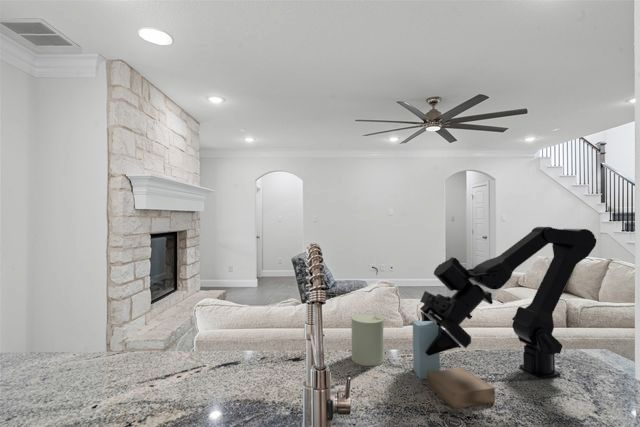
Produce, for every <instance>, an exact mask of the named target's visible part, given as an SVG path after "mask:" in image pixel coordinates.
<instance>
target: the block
mask: <svg viewBox="0 0 640 427" xmlns="http://www.w3.org/2000/svg"><path fill="white" fill-rule="evenodd" d="M437 335H438V326H437V325H436V324H434V323H433V322H432V321H422V320H419V321H418V320H417V321H415V320H414V321H412V360H413V361H412V362H413V363H412V365H413V366H412V368H413V371H414V373H415V374H416V375H417V377H418V378H419V379H420V380H424V379H425V380H427V372H431V371H439V370H441V367H440V366H441V364H440V362H441V360H440V357H441V356H440V355H441V354H440V353H441V352H439V353H436V354H433V355H430V356H428V355H427V354H426V353H425V352H426V350H427V349H428V347H429V346H430V345H431V343H432V342H433V341H434V339H435V338H436V337H437Z"/></svg>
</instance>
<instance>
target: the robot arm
mask: <svg viewBox="0 0 640 427" xmlns="http://www.w3.org/2000/svg"><path fill="white" fill-rule="evenodd" d="M549 244H552V245H551V246H552V252H553V258H552V260H551V261H550V264H549V266H548V268H547V270H546V272H545V274H544V276H543V278H542V281H541V283H540V284H539V286H538V289H537V291H536V293H535V294H534V297H533V299H532V300H531V302H530V303H529V305H528V306H526V307H522V306H518V307H517V309H516V312H515V314H514V316H513V317H512V318H511V320H512V329H513V332H514V334H516V335H517V338H518V340H519V341H520V342H521V343H523V344H525V345H523V353H522V354H523V356H522V358H523V359H522V360H523V364H519V368H521V369H522V370H524V371H526V372H528V373H531V374H532V375H534V376H536V377H538V378H539V379H544V378H545V379H546V378H552V377H557V376H561V372H559V371H557V370H555V369H556V368H555V367H556V366H555V364H556V363H555V355H556V354H560V353H561V352H562V348H563V344H562V343H561V342H560V341H559V340H558V339H557V338H556V337H555V336H554V335H553V332H554V328H555V324H554V316H553V314H554V311H555V309H556V307H557V305H558V303H559V301H560V299H561V297H562V295H563V293H564V292H565V288H566V287H567V284H568V282H569V280H570V278H571V276H572V274H573V272H574V270H575V267H576V265H578V264H579V263H580V262H582V261H583V260H585V259H586V258H587V257H589V255H590V254H591V252H592V251H593V250H594V248H595V247H596V244H597V238H596V236H595V234H594V233H593V232H592V231H591V230H589V229H587V228H562V229H559V228H556V227H555V228H554V227H552V226H536V227H534V228H533V229H532V230H531V231H530V232H529V233H527V234H526V235H525V236H523V238H521V239H520V240H518V241H517V242H516V243H514V244H513V245H511V246H510V247H509V248H508V249H506V250H505V251H504V252H502V253H501V254H500V255H497V256H496V257H493V258H490V259H487V260H484V261H483V262H480V263H479V264H476V265H475V266H474V267H473V268H467V269H466V268H465V267H464V266H463V265H462V263H461V262H460V260H458V259H457V257H453V256H452V257H450V258H449V259H447V260H445V261H443V262H442V263H440V264H438V265H436V266H437V267H436V268H435V269H434V271H433V276H435V277H436V278H437V279H438V280H439V281H440V282H441V283H442V284H443V285H444V286H445V287H446V288H447V290H449V291H451V292H453V291H456V292H455V293H454V294H453V295H452V296H451V297H450V295H447V296H444V295H443V294H440V293H438V294H433V293H431V292H429V291H426V290H425V291H424V292H423V293H422V294H423V295H422V296H421V299H420V300H419V301H420V303H422V304H423V305H421V307H420V310H421V311H420V315H421V321H432V322H433V323H434V324H436V325H437V326H438V335H437V337H436V338H435V339H434V341H433V342H432V343H431V345H430V346H429V347H428V349H427V350H426V352H425V353H426V354H427V355H428V356H430V355H433V354H436V353H439V352H440V353H443V352H445V351H449V350H453V349H456V348H457V349H460V348H462V347H463V348H464V349H467V347H469V346H470V345H471V344H472V336H471V335H470V334H469V333H468V332H467V331H466V330H465V329H464V328H463V327H462V326H461V324H462V323H463V322H464V321H465V320H466V319H468V320H471V319H472V318H473V315H472V312H473V311H475V310H476V308H477V307H478V306H479V305H480V304H481V303H482V302H485V303H487V304H490V305H493V303H494V302H493V298H492V295H493V294H492V292H489V291H488V290H487V291H485V290H484V289H483V288H482V287H485V288H487V289H490V290H494V291H495V290H500V289H501V288H503V287H504V286H505V285H506V284H507V282H508V281H509V280H510V279H511V278H512V275H513V272H514V271H515V270H516V269H517V268H519V267H520V266H521V265H522V264H523V263H524V262H526V261H527V260H529V259H530V258H531V257H533V256H534V255H536V254H537V253H538V252H539V251H541V250H542V249H544V248H545V247H546V246H547V245H549ZM473 282H475V283H476V284H475V283H473ZM481 286H482V287H481ZM516 335H515V336H516Z"/></svg>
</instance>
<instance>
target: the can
mask: <svg viewBox="0 0 640 427" xmlns="http://www.w3.org/2000/svg"><path fill="white" fill-rule="evenodd" d="M350 320H351V361H352V362H353V363H355V364H357V365H360V366H365V367H375V366H379V365H382V364H383V363H384V362H385V353H384V352H385V351H384V321H385V320H384V317H383V316H381V315H378V314H376V313H367V312H366V313H365V312H364V313H357V314H353V315H351V318H350Z"/></svg>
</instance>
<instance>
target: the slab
mask: <svg viewBox="0 0 640 427" xmlns="http://www.w3.org/2000/svg"><path fill="white" fill-rule="evenodd" d="M426 386H427V387H429V388H430V389H431V390H432V391H433V392H434V393H435V394H436V395H437V396H438V397H440V398H441V399H442V400H443V401H445V402H446V403H447V405H449V406H450V407H452V408H453V409H460V408H468V407H473V406H480V405H486V404H491V403H492V404H493V403H495V402H496V396H495V395H496V393H495V390H496V389H495V387H494V386H492V385H490V383H488V382H486V381H485V380H483V379H481V378H480V377H479V376H477V375H475V374H474V373H472V372H471V371H469V370H468V369H466V368H465V367H458V368H457V367H456V368H450V369H449V368H448V369H447V368H446V369H440V370H439V371H431V372H427V379H426Z"/></svg>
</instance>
